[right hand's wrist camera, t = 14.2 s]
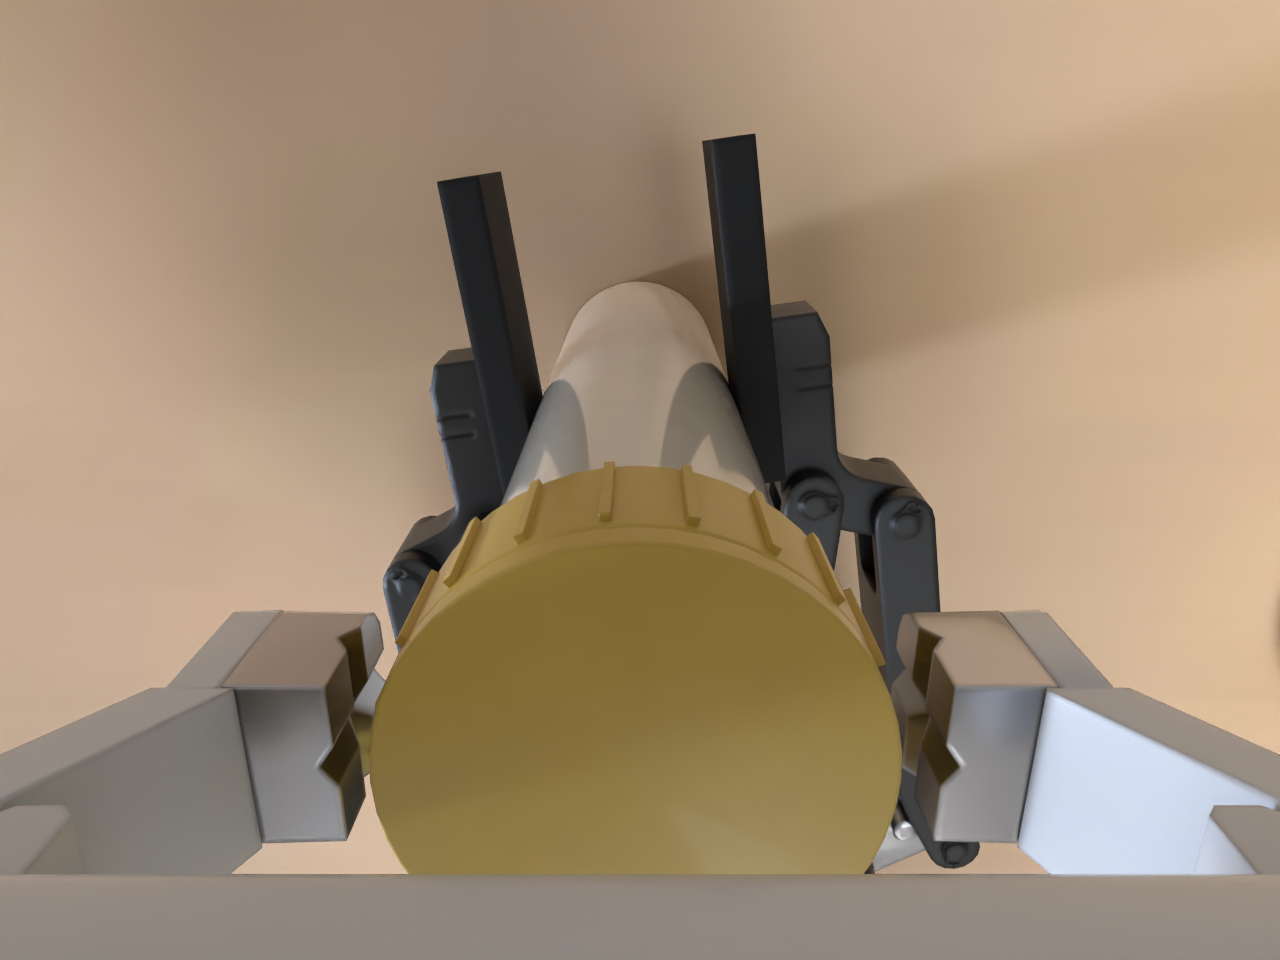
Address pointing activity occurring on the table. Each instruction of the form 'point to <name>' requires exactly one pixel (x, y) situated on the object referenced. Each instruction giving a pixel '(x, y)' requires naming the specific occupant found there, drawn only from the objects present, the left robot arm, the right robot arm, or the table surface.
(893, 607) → the left robot arm
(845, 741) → the lid
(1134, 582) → the table surface
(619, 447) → the white cylinder
